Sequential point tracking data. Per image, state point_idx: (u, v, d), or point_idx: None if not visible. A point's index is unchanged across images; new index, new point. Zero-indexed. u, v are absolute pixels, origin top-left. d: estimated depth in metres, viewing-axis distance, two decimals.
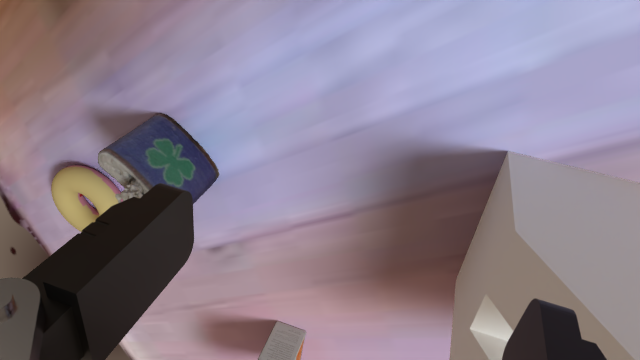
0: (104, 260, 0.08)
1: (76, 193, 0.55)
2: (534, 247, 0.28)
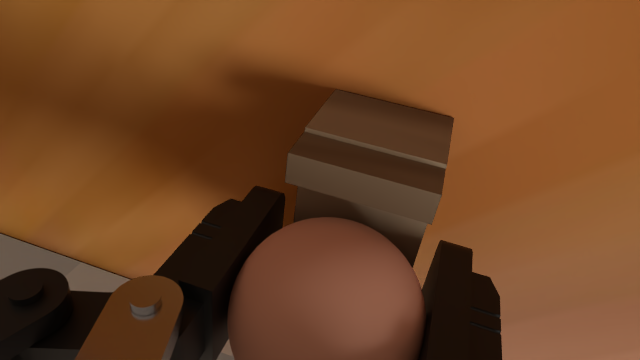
0: (228, 260, 0.09)
1: None
2: None
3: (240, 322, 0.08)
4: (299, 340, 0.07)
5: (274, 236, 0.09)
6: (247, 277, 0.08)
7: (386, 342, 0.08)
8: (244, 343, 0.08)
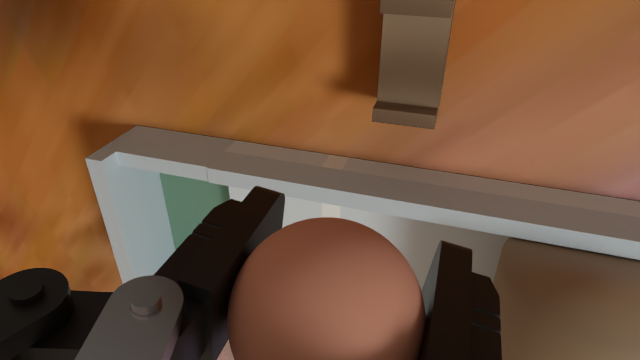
0: (228, 260, 0.09)
1: None
2: None
3: (240, 322, 0.08)
4: (298, 340, 0.07)
5: (274, 236, 0.09)
6: (247, 277, 0.08)
7: (385, 341, 0.08)
8: (244, 343, 0.08)
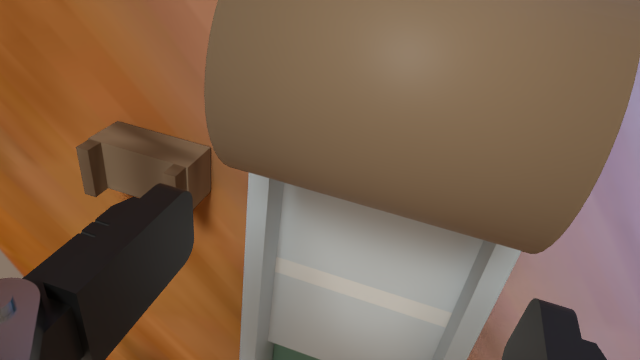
0: (104, 260, 0.08)
1: None
2: None
3: None
4: None
5: None
6: None
7: None
8: None
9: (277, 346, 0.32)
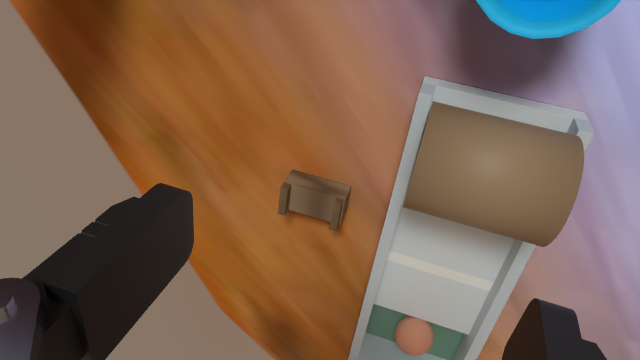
0: (104, 260, 0.08)
1: None
2: None
3: (405, 320, 0.47)
4: (417, 318, 0.47)
5: None
6: (403, 318, 0.48)
7: (429, 324, 0.47)
8: (407, 321, 0.47)
9: (374, 309, 0.50)
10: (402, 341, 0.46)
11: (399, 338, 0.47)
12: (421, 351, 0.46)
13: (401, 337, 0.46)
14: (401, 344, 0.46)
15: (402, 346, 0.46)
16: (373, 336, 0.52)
